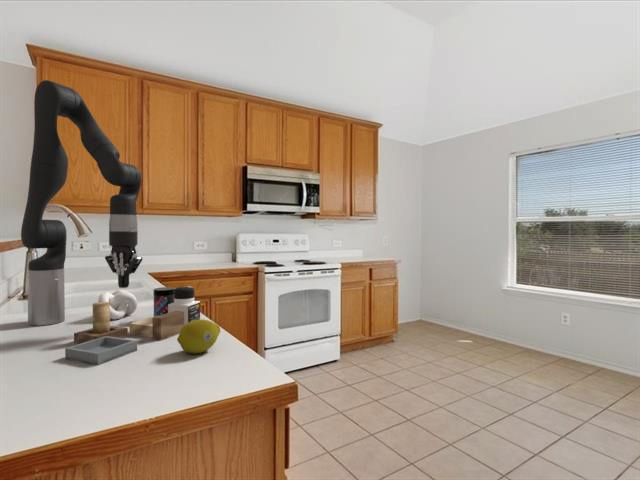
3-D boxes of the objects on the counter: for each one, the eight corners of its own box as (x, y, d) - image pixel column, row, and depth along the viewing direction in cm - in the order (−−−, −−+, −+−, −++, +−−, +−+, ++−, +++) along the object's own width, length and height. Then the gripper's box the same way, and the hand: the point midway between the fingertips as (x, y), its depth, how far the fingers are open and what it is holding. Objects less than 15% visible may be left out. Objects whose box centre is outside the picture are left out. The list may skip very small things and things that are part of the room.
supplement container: (150, 319, 123) (150, 288, 123) (171, 316, 127) (171, 286, 127) (156, 323, 118) (156, 291, 118) (178, 319, 122) (178, 288, 122)
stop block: (152, 339, 101) (152, 317, 100) (176, 330, 109) (175, 310, 109) (161, 340, 100) (160, 318, 99) (184, 331, 108) (184, 311, 108)
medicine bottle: (188, 328, 112) (188, 289, 111) (167, 327, 113) (167, 288, 113) (200, 322, 119) (200, 286, 118) (180, 321, 120) (180, 285, 120)
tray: (65, 358, 85) (65, 348, 85) (106, 345, 95) (106, 335, 95) (98, 365, 81) (98, 353, 81) (137, 350, 91) (137, 340, 91)
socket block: (74, 342, 97) (73, 333, 97) (104, 333, 106) (104, 325, 106) (98, 346, 94) (98, 336, 94) (127, 336, 102) (127, 328, 102)
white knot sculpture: (139, 312, 133) (139, 287, 133) (135, 319, 122) (135, 293, 122) (104, 314, 129) (103, 289, 129) (96, 322, 118) (96, 295, 118)
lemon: (181, 361, 84) (180, 326, 84) (172, 351, 90) (172, 319, 90) (226, 352, 90) (226, 320, 90) (215, 344, 97) (215, 314, 96)
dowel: (89, 340, 99) (89, 304, 98) (102, 336, 102) (102, 301, 102) (100, 342, 97) (99, 305, 97) (113, 338, 101) (113, 302, 101)
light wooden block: (129, 335, 105) (129, 323, 105) (151, 328, 113) (151, 317, 113) (156, 339, 102) (156, 326, 102) (177, 331, 109) (176, 320, 109)
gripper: (95, 229, 108) (96, 287, 109) (129, 230, 103) (129, 291, 104) (117, 229, 115) (118, 284, 116) (150, 230, 110) (150, 287, 111)
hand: (123, 287), depth 110 cm, fingers closed
